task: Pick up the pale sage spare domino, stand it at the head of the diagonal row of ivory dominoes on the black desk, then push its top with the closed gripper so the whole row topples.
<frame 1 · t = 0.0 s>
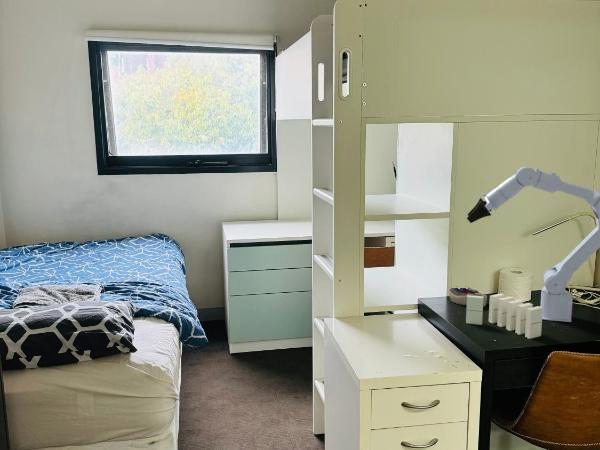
hand: (469, 218, 187), 32 cm above the table, tool tilted 50°, fingers open, 7 cm apart
domino 1: (496, 321, 181), on the table
domino 4: (523, 332, 171), on the table
spare domino: (474, 323, 179), on the table
domino 2: (504, 324, 177), on the table
domino 5: (533, 336, 168), on the table
domino 3: (513, 328, 174), on the table
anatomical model: (468, 302, 201), on the table
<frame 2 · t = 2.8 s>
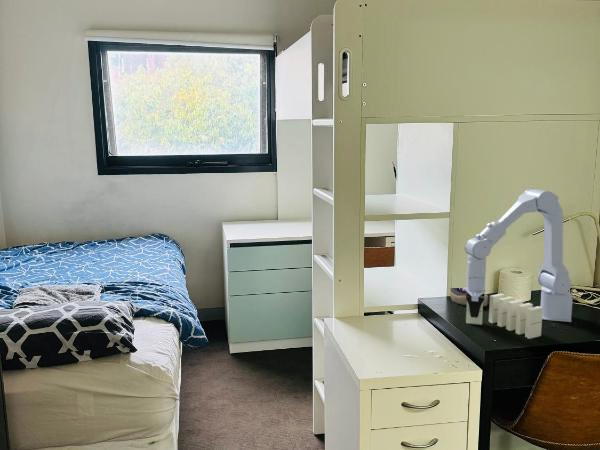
hand: (474, 315, 179), 2 cm above the table, tool pointing down, fingers closed on spare domino, 2 cm apart
spare domino: (474, 323, 179), on the table, touching gripper
everything else where it was.
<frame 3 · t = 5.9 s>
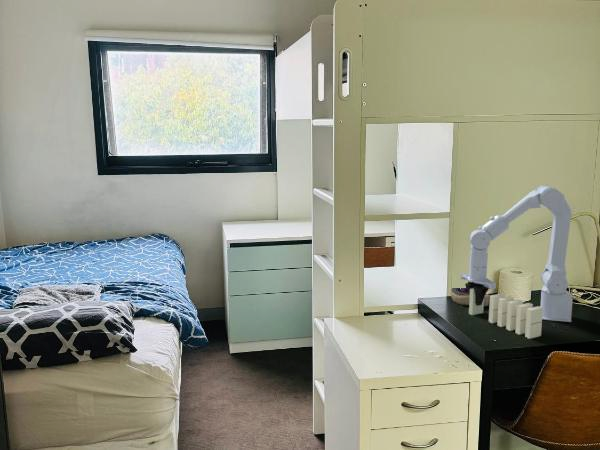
hand: (476, 304, 188), 3 cm above the table, tool pointing down, fingers closed on spare domino, 2 cm apart
spare domino: (476, 313, 189), on the table, touching gripper
everything else where it was.
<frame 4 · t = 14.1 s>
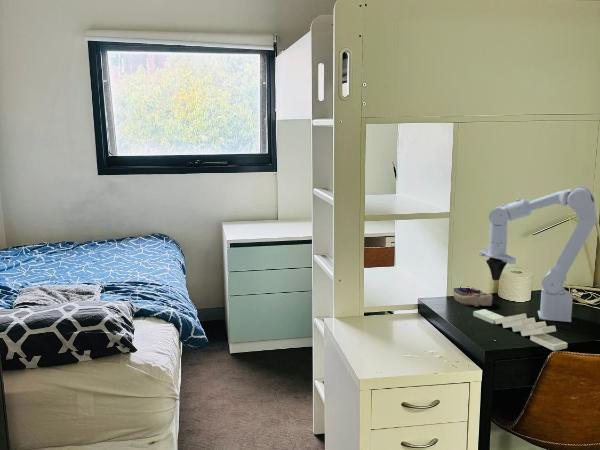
hand: (495, 279, 191), 10 cm above the table, tool pointing down, fingers closed
domino 1: (501, 320, 179), point 1 cm above the table, tilted 64°, touching domino 2
domino 4: (527, 332, 169), point 1 cm above the table, tilted 65°, touching domino 3, domino 5
spare domino: (478, 312, 187), point 1 cm above the table, tilted 90°
domino 2: (508, 324, 176), point 1 cm above the table, tilted 65°, touching domino 1, domino 3
domino 5: (536, 336, 166), point 1 cm above the table, tilted 90°, touching domino 4
domino 3: (518, 328, 172), point 1 cm above the table, tilted 65°, touching domino 2, domino 4
at the end: domino 5 tilted 90°; spare domino tilted 90°; the gripper is holding nothing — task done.
